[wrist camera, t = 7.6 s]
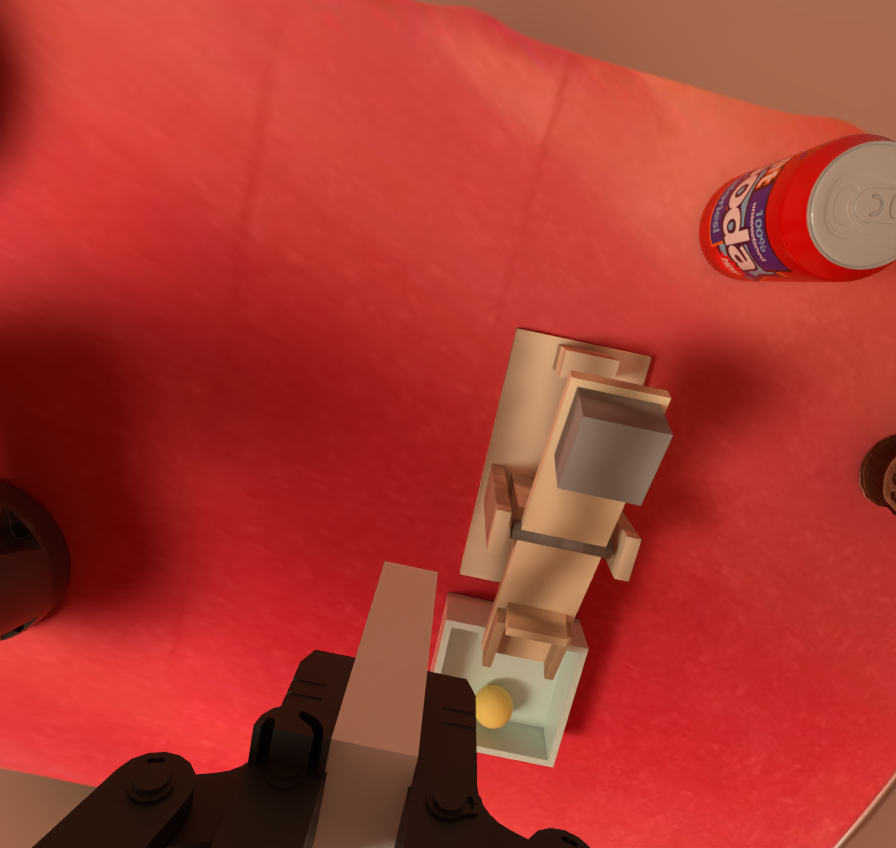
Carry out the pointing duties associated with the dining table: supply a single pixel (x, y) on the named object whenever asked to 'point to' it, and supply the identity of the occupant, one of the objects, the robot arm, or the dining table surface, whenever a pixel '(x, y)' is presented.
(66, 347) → the dining table surface
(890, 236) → the soda can
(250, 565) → the dining table surface
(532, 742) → the shallow square tray
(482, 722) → the ball
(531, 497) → the lever
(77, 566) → the dining table surface
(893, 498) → the coffee cup
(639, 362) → the catapult base
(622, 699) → the dining table surface
